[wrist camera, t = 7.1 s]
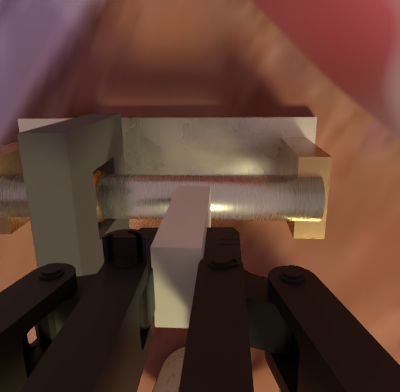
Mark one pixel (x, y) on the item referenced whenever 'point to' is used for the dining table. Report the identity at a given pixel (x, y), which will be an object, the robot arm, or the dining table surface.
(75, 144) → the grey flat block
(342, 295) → the dining table surface
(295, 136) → the metal rod stand
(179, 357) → the mug
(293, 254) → the dining table surface
